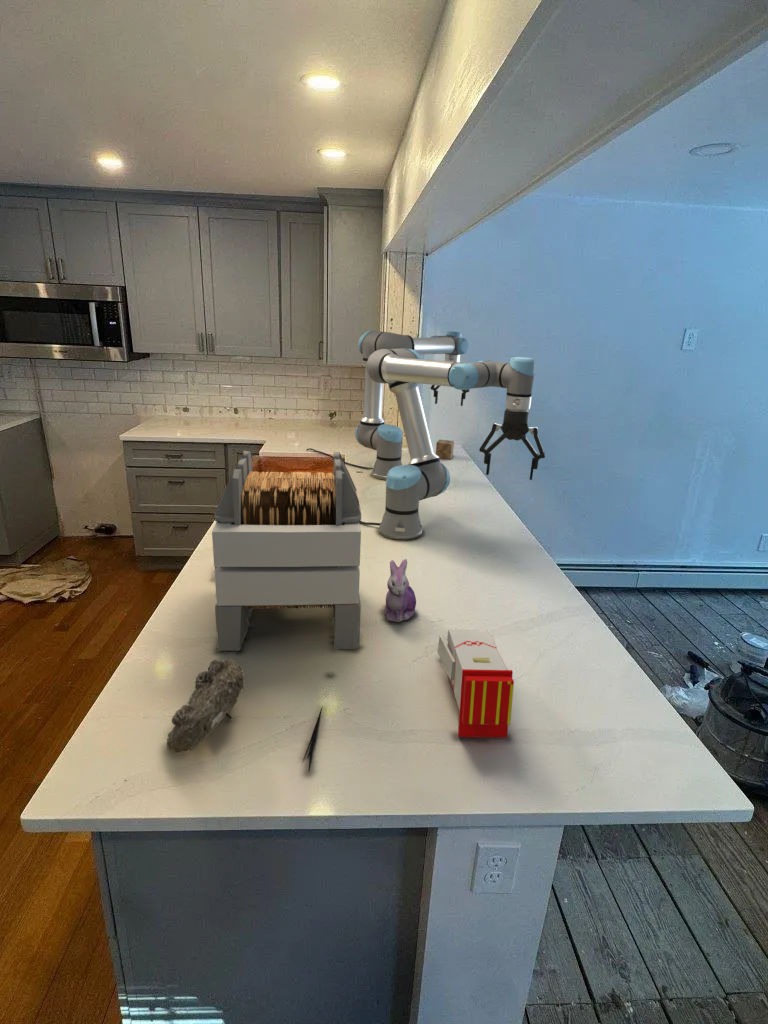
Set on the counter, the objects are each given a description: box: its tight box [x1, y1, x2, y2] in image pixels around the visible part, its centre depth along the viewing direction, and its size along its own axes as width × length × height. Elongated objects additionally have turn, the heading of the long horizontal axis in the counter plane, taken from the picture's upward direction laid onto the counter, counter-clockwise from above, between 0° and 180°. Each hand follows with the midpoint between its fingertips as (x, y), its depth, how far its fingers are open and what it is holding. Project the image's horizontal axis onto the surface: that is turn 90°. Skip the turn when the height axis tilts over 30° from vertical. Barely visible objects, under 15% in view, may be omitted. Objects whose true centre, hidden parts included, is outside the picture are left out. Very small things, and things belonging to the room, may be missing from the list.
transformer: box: [211, 450, 362, 653], centre depth 138 cm, size 34×33×41 cm
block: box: [435, 439, 455, 460], centre depth 306 cm, size 8×8×8 cm
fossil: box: [166, 658, 245, 754], centre depth 106 cm, size 22×10×15 cm
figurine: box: [384, 558, 417, 623], centre depth 145 cm, size 9×10×15 cm
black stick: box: [301, 673, 332, 771], centre depth 108 cm, size 2×28×2 cm
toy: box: [437, 628, 515, 738], centre depth 117 cm, size 12×13×30 cm
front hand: (509, 476), depth 181 cm, fingers open, 13 cm apart
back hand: (448, 404), depth 298 cm, fingers open, 13 cm apart
